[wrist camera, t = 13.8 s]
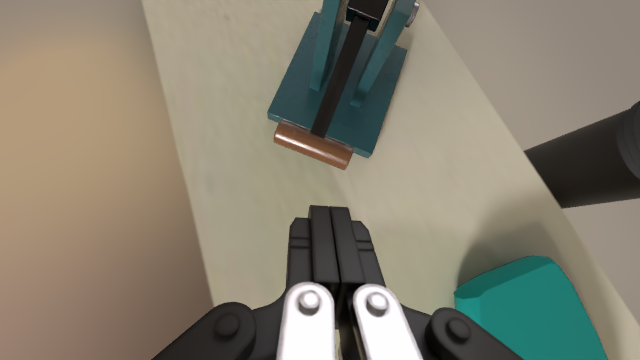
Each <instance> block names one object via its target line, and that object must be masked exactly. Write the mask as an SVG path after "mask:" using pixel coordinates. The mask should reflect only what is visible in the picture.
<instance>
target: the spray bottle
mask: <svg viewBox="0 0 640 360" xmlns="http://www.w3.org/2000/svg"><path fill="white" fill-rule="evenodd" d="M454 298H455V308H456V310H458V311H460V312H462V313H464V314H465V315H467V316H468V317H470V318H471V319H472V320H473V321H475V322H476V323H477V324H479V325H480V326H481V327H483V328H484V329H485V330H486V331H488V332H489V333H490V334H492V335H493V336H494V337H496V338H497V339H498V340H499V341H501V342H502V343H503V344H505V345H506V346H507V347H509V348H510V349H511V350H513V351H514V352H515V353H516V354H518V355H519V356H520V357H522V358H523V359H524V360H608V359H607V356H606V354H605V352H604V349H603V347H602V344H601V342H600V339H599V337H598V335H597V333H596V331H595V329H594V327H593V325H592V323H591V321H590V319H589V317H588V315H587V313H586V311H585V309H584V307H583V305H582V303H581V301H580V299H579V297H578V295H577V293H576V291H575V289H574V287H573V285H572V283H571V282H570V281H569V279H568V278H567V276H566V275H565V274H564V272H563V271H562V269H561V268H560V267H559V266H558V265H557V264H556V263H555V262H554V261H553V260H552V259H550V258H549V257H542V256H529V257H525V258H522V259H519V260H517V261H514V262H511V263H509V264H506V265H504V266H501V267H498V268H496V269H493V270H491V271H488V272H485V273H483V274H480V275H478V276H477V277H475V278H473V279H471V280H469V281H468V282H466V283H464V284H462V285H461V286H459V287H458V288H457V290H456V291H455V292H454Z"/></svg>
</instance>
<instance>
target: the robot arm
mask: <svg viewBox="0 0 640 360" xmlns="http://www.w3.org/2000/svg"><path fill="white" fill-rule="evenodd" d="M335 329H339V333H340V345H339V348H338V357H339V360H524V359H523V358H522V357H520V356H519V355H518V354H516V353H515V352H514V351H513V350H511V349H510V348H509V347H507V346H506V345H505V344H503V343H502V342H501V341H499V340H498V339H497V338H496V337H494V336H493V335H492V334H490V333H489V332H488V331H486V330H485V329H484V328H483V327H481V326H480V325H479V324H477V323H476V322H475V321H473V320H472V319H471V318H470V317H468V316H467V315H465V314H464V313H462V312H460V311H458V310H456V309H452V308H439V309H437V310H436V311H435V312H434V313H433V315H429V314H426V313H423V312H420V311H416V310H413V309H411V308H408V307H406V306H404V305H402V304H401V303H399V301H398V299H397V297H396V296H395V295H394V294H393V293H392V292H391V291H390V290H388V289H387V288H386V285H385V282H384V279H383V276H382V273H381V269H380V266H379V263H378V260H377V256H376V253H375V252H374V247H373V243H372V240H371V237H370V234H369V230H368V229H367V228H366V227H365V226H364V225H363V223H362V222H361V221H351V217H350V212H349V209H348V207H333V206H329V207H328V206H316V205H310V206H309V213H308V218H297V217H296V218H295V219H294V221H293V222H292V224H291V225H290V231H289V243H288V255H287V274H286V289H285V291H284V293H283V294H282V296H281V297H280V298H279V299H278V300H276V301H275V302H273V303H271V304H269V305H267V306H264V307H260V308H257V309H254V310H251V309H250V308H249V307H248V306H246V305H244V304H242V303H238V302H228V303H223V304H221V305H218V306H216V307H214V308H213V309H212V310H210V311H209V312H208V313H206V314H205V315H204V316H203V317H202V318H201V319H200V320H198V321H197V322H196V323H195V324H194V325H192V326H191V327H190V328H189V329H187V330H186V331H185V332H184V333H183V334H181V335H180V336H179V337H178V338H177V339H175V340H174V341H173V342H172V343H171V344H169V345H168V346H167V347H166V348H165V349H163V350H162V351H161V352H160V353H159V354H157V355H156V356H155V357H154V358H153V359H151V360H336V348H335Z"/></svg>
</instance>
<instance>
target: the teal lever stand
mask: <svg viewBox="0 0 640 360" xmlns="http://www.w3.org/2000/svg"><path fill="white" fill-rule="evenodd" d="M415 1H416V0H393V3H392V5H391V7H390V9H389V12H388V14H387V16H386V18H385V21H384V23H383V25H382V27H381V29H380V32H379V34H378V36H377V37H375V36H372V35H370V34H368V33H366V34H365V37H364V39H363V42H362V45H361V47H360V50H359V52H358V55H357V57H356V60H355V62H354V65H353V67H352V70H351V72H350V75H349V78H348V80H347V83H346V85H345V88H344V90H343V93H342V95H341V98H340V100H339V103H338V105H337V108H336V111H335V113H334V116H333V118H332V121H331V123H330V126H329V128H328V131H327V133H326V136H327V137H330V138H332V139H335V140H337V141H340V142H342V143H345V144H347V145H350V146H352V147H354V150H353V153H356V154H358V155H361V156H363V157H366V158H369V157H370V156H371V155H372V153H373V150H374V147H375V144H376V141H377V138H378V135H379V132H380V129H381V127H382V124H383V121H384V118H385V115H386V112H387V109H388V106H389V103H390V100H391V97H392V94H393V91H394V88H395V85H396V82H397V79H398V76H399V73H400V70H401V67H402V64H403V61H404V58H405V55H406V53H407V50H406V49H404V48H401V47H399V46H396V45H395V43H396V41H397V39H398V37H399V36H400V34H401V32H402V30H403V28H404V26H405V27H410V25H411V23H412V22H413V20H414V18H415V16H416V13H417V11H418V8H419V3H417V2H415ZM348 2H349V0H323V6H322V12H321V14H320V13H317V12H314V14H313V17H312V19H311V21H310V23H309V25H308V27H307V29H306V31H305V34H304V36H303V38H302V40H301V42H300V44H299V46H298V48H297V50H296V53H295V55H294V57H293V59H292V61H291V63H290V65H289V67H288V69H287V72H286V74H285V76H284V78H283V80H282V82H281V84H280V86H279V88H278V91H277V93H276V95H275V97H274V99H273V101H272V103H271V105H270V108H269V110H268V112H267V114H268V118H269V119H271V120H274V121H276V122H280V121H281V120H282V119H285V120H287V121H290V122H292V123H295V124H297V125H300V126H302V127H305V128H307V129H310V130H311V128H312V125H313V123H314V120H315V118H316V115H317V112H318V110H319V107H320V104H321V102H322V99H323V96H324V94H325V91H326V88H327V86H328V83H329V80H330V78H331V75H332V73H333V70H334V67H335V65H336V62H337V59H338V57H339V54H340V51H341V49H342V46H343V43H344V41H345V38H346V36H347V33H348V30H349V28H350V26H349V25H346V24H344V19H345V15H346V11H347V5H348Z"/></svg>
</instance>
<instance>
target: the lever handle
mask: <svg viewBox="0 0 640 360" xmlns="http://www.w3.org/2000/svg"><path fill="white" fill-rule="evenodd" d="M388 1H389V0H349V2H348V5H347V11H346V20H347V21H349V22H351V25H350V28H349V30H348V33H347V36H346V38H345V41H344V43H343V46H342V49H341V51H340V54H339V57H338V59H337V62H336V65H335V67H334V70H333V73H332V75H331V78H330V80H329V83H328V86H327V88H326V91H325V94H324V96H323V99H322V102H321V104H320V107H319V110H318V112H317V115H316V118H315V120H314V123H313V125H312V128H311V130H310V129H307V128H305V127H302V126H300V125H297V124H295V123H292V122H290V121H287V120H285V119H282V120H281V121H280V122H279V124H278V126H277V129H276V132H275V135H274V143H277V144H279V145H282V146H284V147H287V148H289V149H292V150H294V151H297V152H299V153H302V154H304V155H307V156H310V157H312V158H315V159H317V160H320V161H322V162H325V163H327V164H330V165H332V166H335V167H337V168H340V169H342V170H345V169H346V167H347V166H348V164H349V161H350V159H351V156H352V154H353V150H354V147H352V146H350V145H347V144H345V143H342V142H340V141H337V140H335V139H332V138H330V137H327V136H326V133H327V131H328V128H329V126H330V123H331V121H332V118H333V116H334V113H335V111H336V108H337V105H338V103H339V100H340V98H341V95H342V93H343V90H344V88H345V85H346V83H347V80H348V78H349V75H350V72H351V70H352V67H353V65H354V62H355V60H356V57H357V55H358V52H359V50H360V47H361V45H362V42H363V39H364V37H365V34H366V32H367V29H368V30H371V31H373V32H375V31H376V29H377V27H378V25H379V23H380V21H381V18H382V16H383V13H384V11H385V8H386V6H387V3H388Z"/></svg>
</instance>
